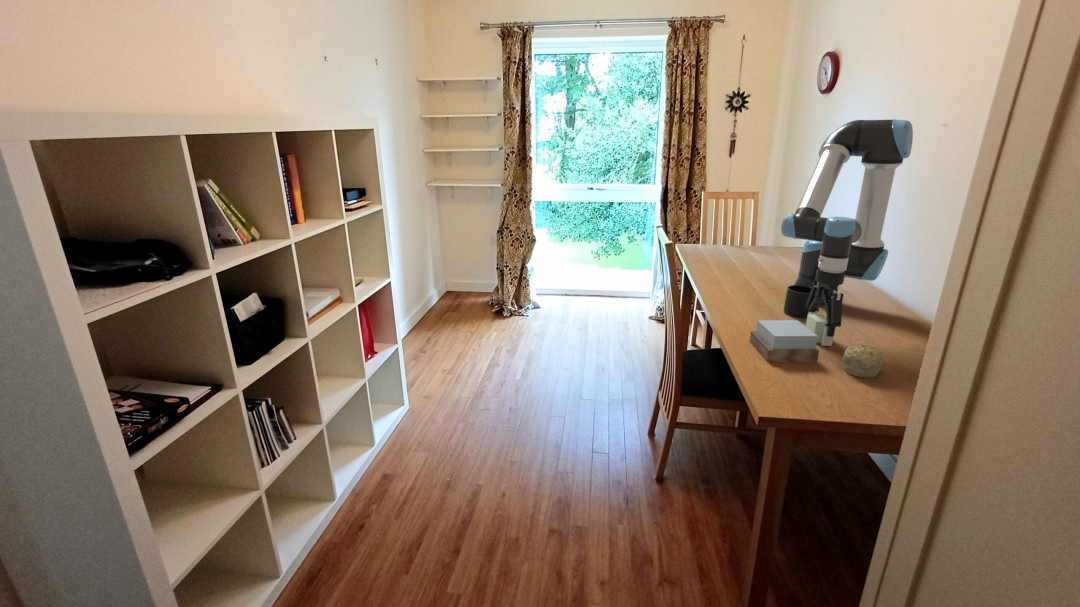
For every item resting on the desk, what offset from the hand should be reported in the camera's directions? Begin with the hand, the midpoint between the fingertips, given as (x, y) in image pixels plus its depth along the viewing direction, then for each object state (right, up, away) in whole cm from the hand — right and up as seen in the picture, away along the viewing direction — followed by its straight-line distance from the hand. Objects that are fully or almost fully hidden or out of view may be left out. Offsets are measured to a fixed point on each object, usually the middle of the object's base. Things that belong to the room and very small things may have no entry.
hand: (817, 338), depth 159 cm
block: (0, 0, 0) cm, 0 cm away
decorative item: (0, -8, -21) cm, 22 cm away
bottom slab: (-15, -4, -8) cm, 18 cm away
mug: (+5, +8, +23) cm, 24 cm away
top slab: (-15, 0, -10) cm, 18 cm away
